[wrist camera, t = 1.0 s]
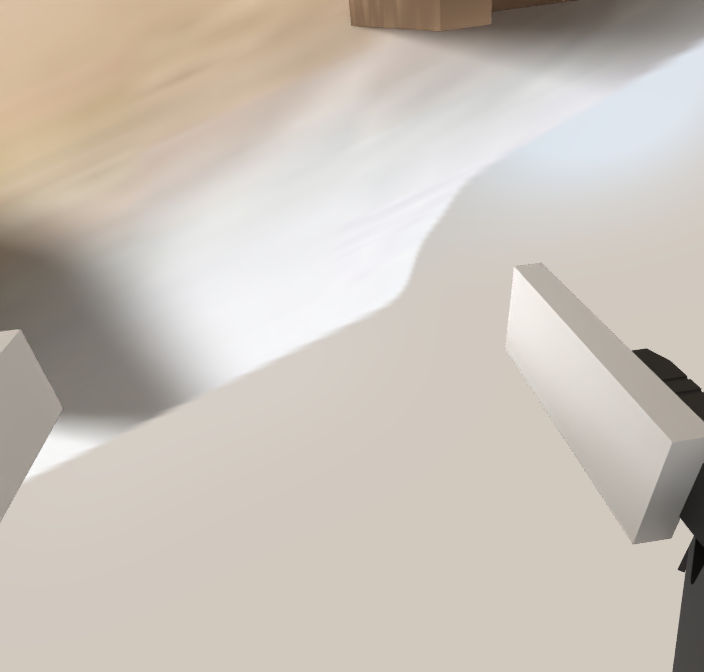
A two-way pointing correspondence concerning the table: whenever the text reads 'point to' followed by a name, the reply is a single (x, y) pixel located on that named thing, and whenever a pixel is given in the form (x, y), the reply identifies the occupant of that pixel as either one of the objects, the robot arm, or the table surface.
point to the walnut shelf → (432, 12)
